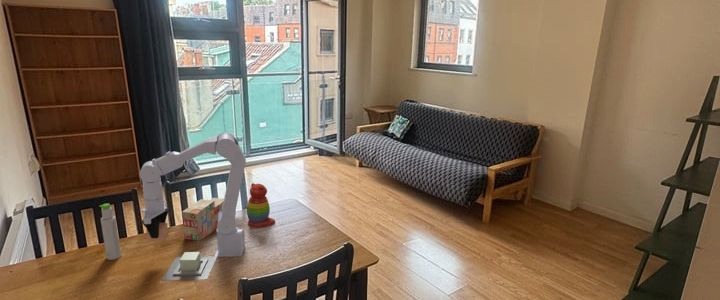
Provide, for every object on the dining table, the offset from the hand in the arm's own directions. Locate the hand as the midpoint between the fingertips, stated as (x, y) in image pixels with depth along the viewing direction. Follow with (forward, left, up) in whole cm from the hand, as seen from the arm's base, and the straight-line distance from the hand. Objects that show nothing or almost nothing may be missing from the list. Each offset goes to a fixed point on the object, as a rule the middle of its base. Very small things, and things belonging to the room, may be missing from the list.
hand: (157, 233), depth 139 cm
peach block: (0, 0, -2) cm, 2 cm away
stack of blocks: (-10, -24, -11) cm, 28 cm away
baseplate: (-12, +6, -10) cm, 17 cm away
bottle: (+17, -3, -10) cm, 20 cm away
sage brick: (-12, +6, -10) cm, 17 cm away
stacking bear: (-30, -28, -11) cm, 42 cm away
